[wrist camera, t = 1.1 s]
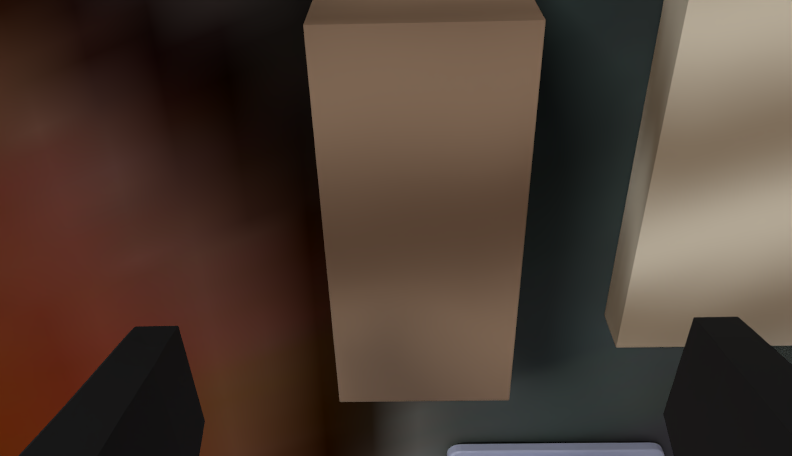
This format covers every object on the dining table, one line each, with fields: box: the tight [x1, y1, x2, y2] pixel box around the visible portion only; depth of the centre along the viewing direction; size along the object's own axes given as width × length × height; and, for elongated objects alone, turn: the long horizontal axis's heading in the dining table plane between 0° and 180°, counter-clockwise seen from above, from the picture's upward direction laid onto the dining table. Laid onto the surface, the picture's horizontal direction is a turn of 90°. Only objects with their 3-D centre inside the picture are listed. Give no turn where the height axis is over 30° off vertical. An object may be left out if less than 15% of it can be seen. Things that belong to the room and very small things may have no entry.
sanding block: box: [303, 0, 546, 402], centre depth 17 cm, size 9×4×6 cm, turn 1°
